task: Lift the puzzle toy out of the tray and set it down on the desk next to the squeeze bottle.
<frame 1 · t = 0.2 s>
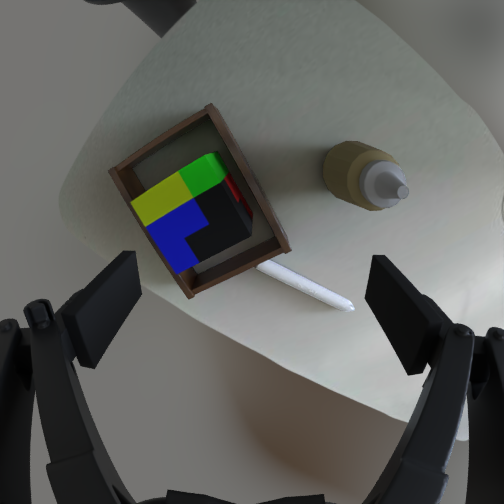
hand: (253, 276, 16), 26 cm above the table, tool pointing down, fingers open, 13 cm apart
marker: (308, 284, 46), on the table
squeeze bottle: (344, 168, 39), on the table
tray: (204, 199, 41), on the table
puzzle toy: (204, 199, 41), resting in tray
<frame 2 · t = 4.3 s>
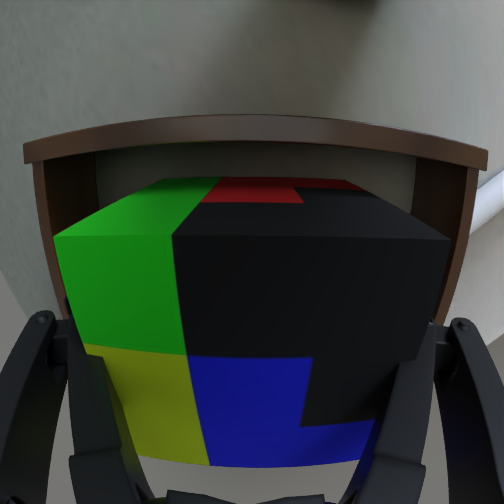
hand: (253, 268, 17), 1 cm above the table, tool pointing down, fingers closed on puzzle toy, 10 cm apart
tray: (253, 263, 17), on the table
puzzle toy: (253, 261, 17), resting in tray, touching gripper
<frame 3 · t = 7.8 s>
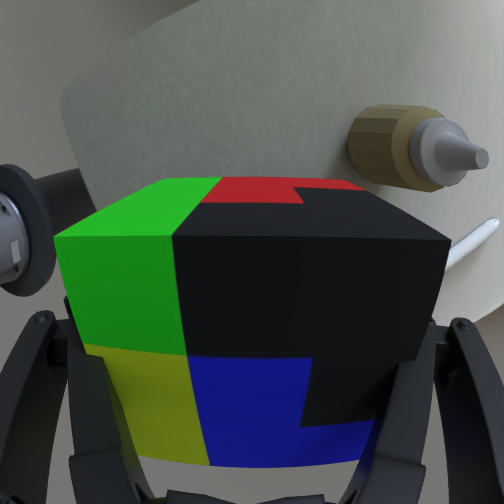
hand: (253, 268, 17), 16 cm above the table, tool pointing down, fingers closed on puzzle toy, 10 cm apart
marker: (452, 249, 33), on the table
squeeze bottle: (371, 143, 29), on the table
puzzle toy: (253, 262, 17), point 15 cm above the table, touching gripper
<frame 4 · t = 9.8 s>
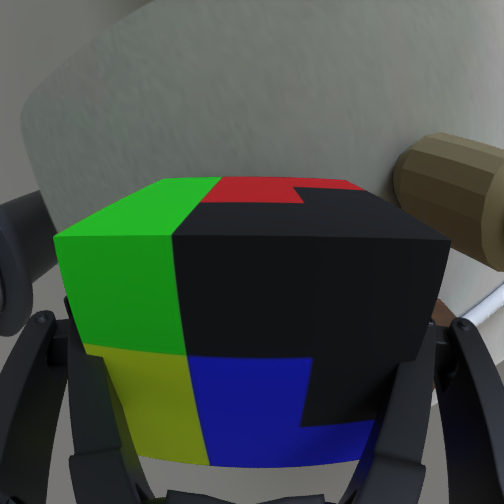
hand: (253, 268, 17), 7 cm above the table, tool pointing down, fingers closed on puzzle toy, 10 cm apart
marker: (489, 296, 26), on the table
squeeze bottle: (419, 178, 22), on the table
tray: (337, 365, 29), on the table
puzzle toy: (253, 261, 17), point 6 cm above the table, touching gripper
when the fingers open (1 cm above the table, at t = 11.8 s): puzzle toy stays where it is, on the table.
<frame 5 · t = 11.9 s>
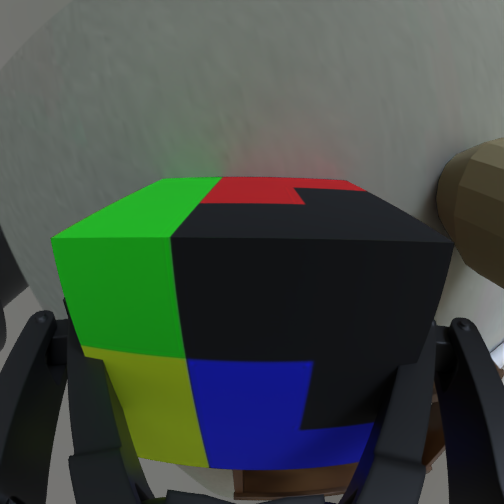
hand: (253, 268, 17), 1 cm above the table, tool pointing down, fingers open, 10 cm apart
squeeze bottle: (465, 194, 15), on the table
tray: (351, 412, 22), on the table
puzzle toy: (253, 262, 17), on the table
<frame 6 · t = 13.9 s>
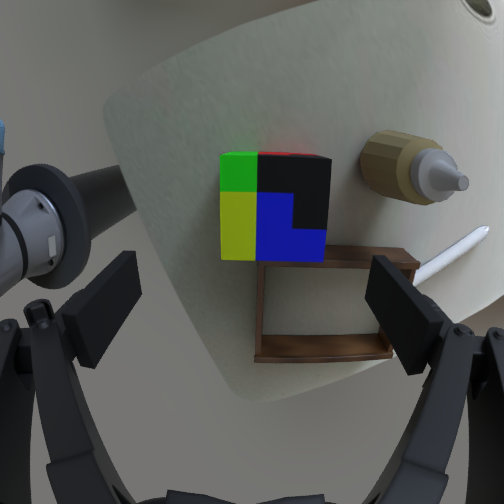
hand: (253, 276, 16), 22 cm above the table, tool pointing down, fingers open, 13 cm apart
marker: (447, 251, 38), on the table
squeeze bottle: (379, 161, 34), on the table
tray: (328, 296, 41), on the table
puzzle toy: (271, 191, 36), on the table
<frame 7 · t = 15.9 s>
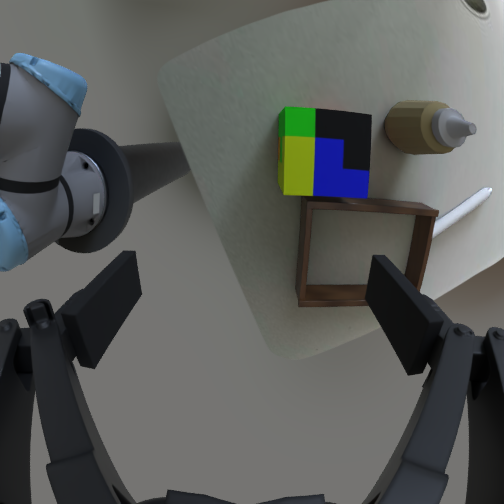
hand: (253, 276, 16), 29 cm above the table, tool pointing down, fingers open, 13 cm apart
marker: (457, 208, 43), on the table
squeeze bottle: (399, 127, 38), on the table
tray: (361, 245, 45), on the table
puzzle toy: (312, 149, 40), on the table
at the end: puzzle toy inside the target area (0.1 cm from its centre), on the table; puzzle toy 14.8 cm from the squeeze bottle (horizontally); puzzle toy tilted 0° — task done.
